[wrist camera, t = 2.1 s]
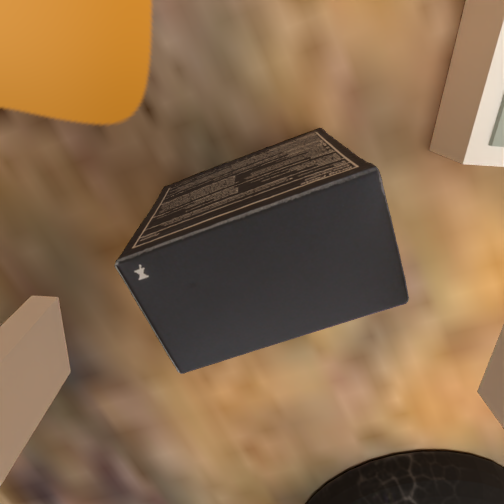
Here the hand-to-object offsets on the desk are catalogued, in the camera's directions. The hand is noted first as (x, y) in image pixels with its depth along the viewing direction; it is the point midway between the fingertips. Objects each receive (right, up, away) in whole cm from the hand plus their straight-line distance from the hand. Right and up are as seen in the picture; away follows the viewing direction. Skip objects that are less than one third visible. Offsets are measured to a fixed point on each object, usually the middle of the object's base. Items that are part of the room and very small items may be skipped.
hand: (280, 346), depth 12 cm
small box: (-1, +6, +13) cm, 14 cm away
